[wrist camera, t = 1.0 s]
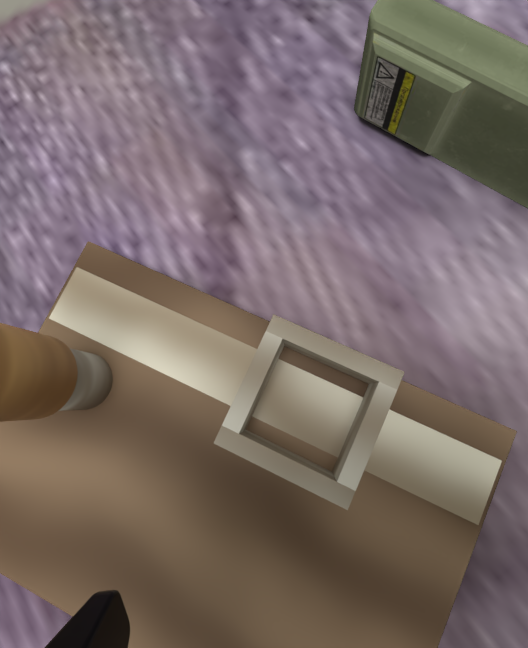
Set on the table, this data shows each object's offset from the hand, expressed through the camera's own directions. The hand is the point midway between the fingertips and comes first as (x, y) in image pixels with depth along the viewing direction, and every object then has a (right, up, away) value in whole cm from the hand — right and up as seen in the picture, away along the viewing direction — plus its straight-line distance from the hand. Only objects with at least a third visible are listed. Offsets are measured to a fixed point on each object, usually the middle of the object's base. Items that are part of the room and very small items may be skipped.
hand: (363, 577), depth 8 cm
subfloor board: (-4, -3, +14) cm, 14 cm away
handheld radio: (+14, +11, +15) cm, 23 cm away
